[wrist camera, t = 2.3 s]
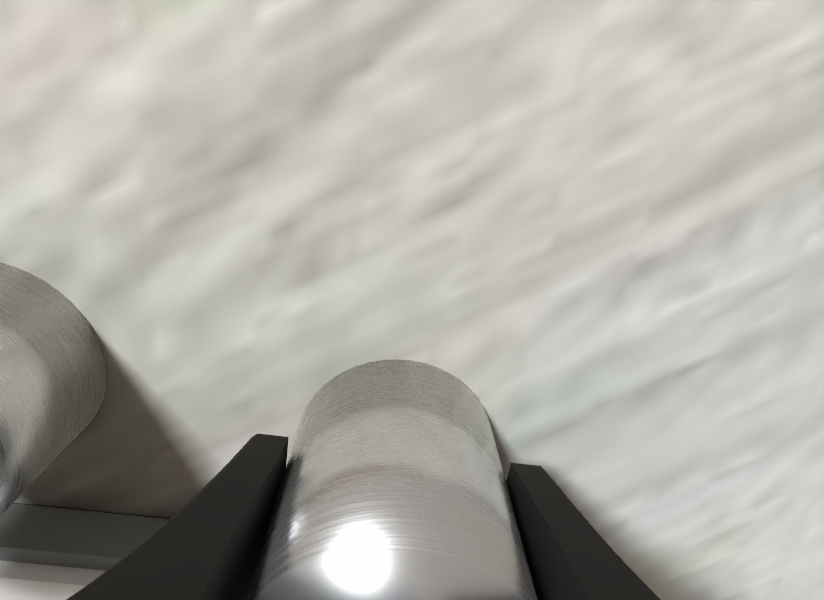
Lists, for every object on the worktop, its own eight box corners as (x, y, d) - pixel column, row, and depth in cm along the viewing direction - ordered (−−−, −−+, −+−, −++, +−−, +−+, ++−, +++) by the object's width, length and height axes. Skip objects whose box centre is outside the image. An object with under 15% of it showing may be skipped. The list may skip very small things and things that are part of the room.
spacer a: (511, 373, 11) (588, 570, 7) (472, 530, 13) (512, 778, 8) (305, 347, 11) (233, 534, 6) (291, 511, 12) (225, 758, 8)
